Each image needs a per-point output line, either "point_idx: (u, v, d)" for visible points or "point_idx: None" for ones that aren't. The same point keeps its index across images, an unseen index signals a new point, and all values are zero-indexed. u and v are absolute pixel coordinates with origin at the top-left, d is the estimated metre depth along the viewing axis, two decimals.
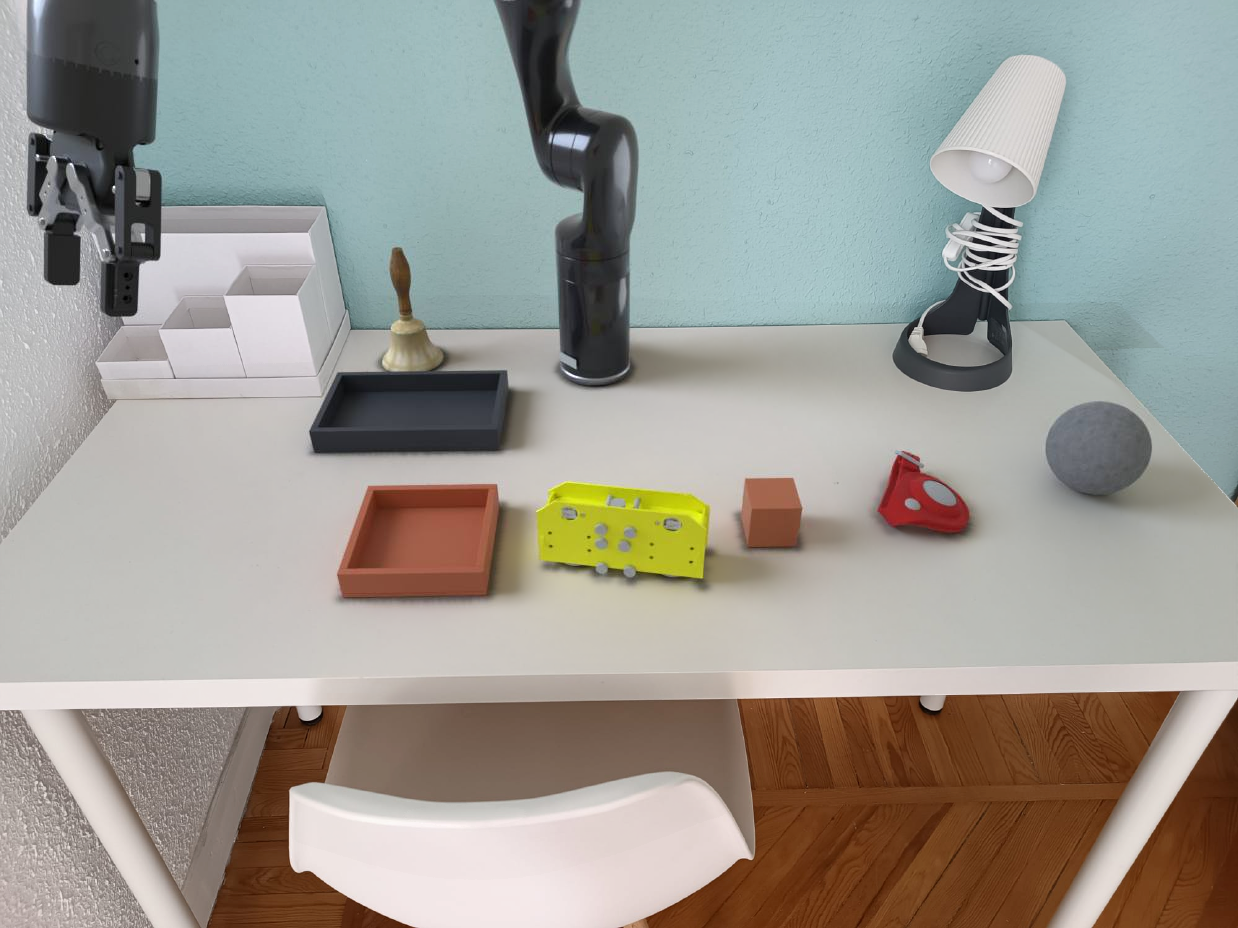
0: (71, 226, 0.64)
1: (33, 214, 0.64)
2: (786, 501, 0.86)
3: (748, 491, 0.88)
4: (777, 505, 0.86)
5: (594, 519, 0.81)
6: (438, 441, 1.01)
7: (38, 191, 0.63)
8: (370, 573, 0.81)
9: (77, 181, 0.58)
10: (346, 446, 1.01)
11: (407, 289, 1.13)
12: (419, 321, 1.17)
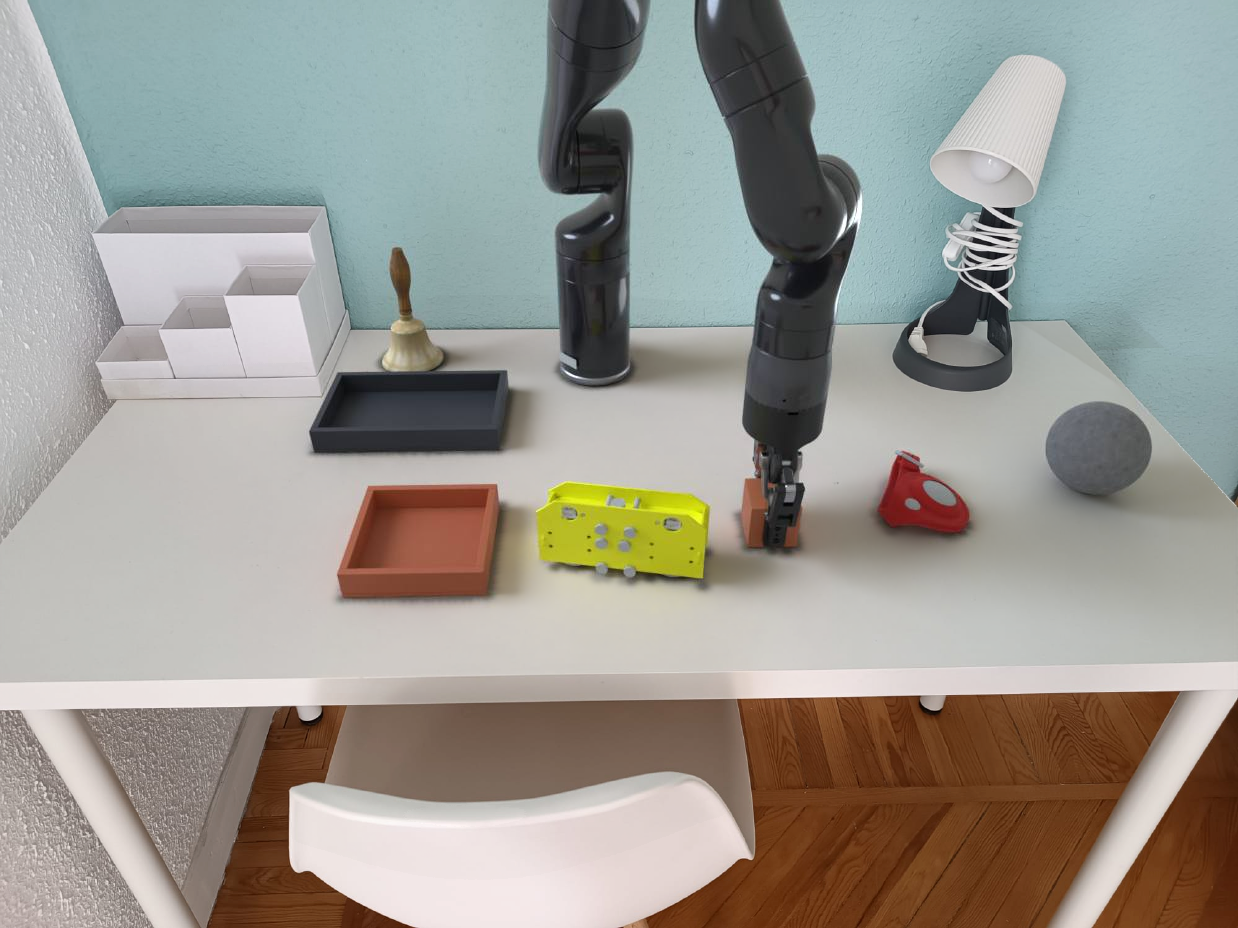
0: None
1: None
2: None
3: (748, 491, 0.88)
4: None
5: (594, 519, 0.81)
6: (438, 441, 1.01)
7: None
8: (370, 573, 0.81)
9: None
10: (346, 446, 1.01)
11: (407, 289, 1.13)
12: (419, 321, 1.17)
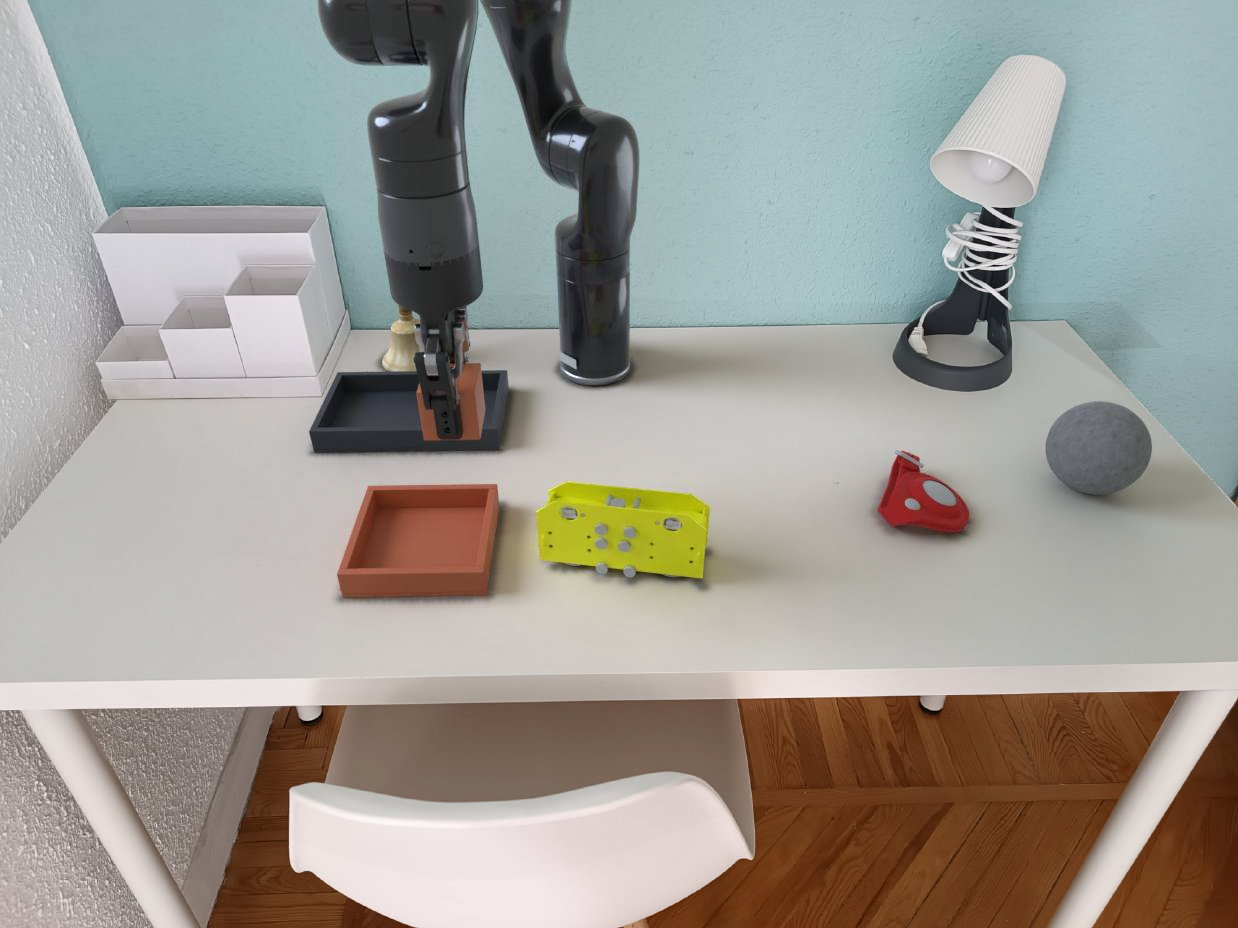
0: None
1: None
2: (459, 385, 0.76)
3: None
4: None
5: (594, 519, 0.81)
6: (438, 441, 1.01)
7: None
8: (370, 573, 0.81)
9: None
10: (346, 446, 1.01)
11: None
12: (419, 321, 1.17)
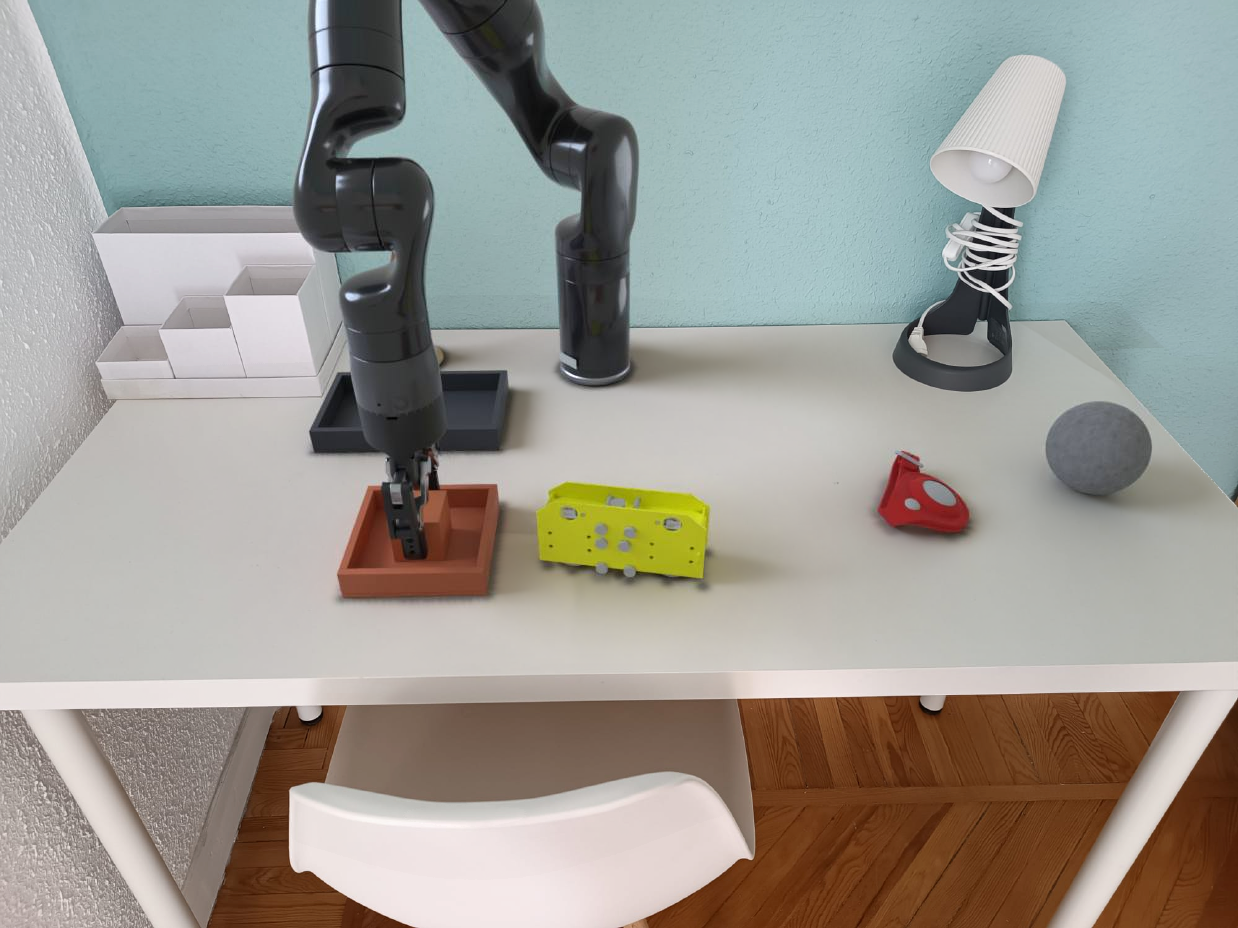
0: None
1: None
2: (425, 515, 0.84)
3: None
4: None
5: (594, 519, 0.81)
6: None
7: None
8: (370, 573, 0.81)
9: (435, 444, 0.83)
10: (346, 446, 1.01)
11: None
12: None
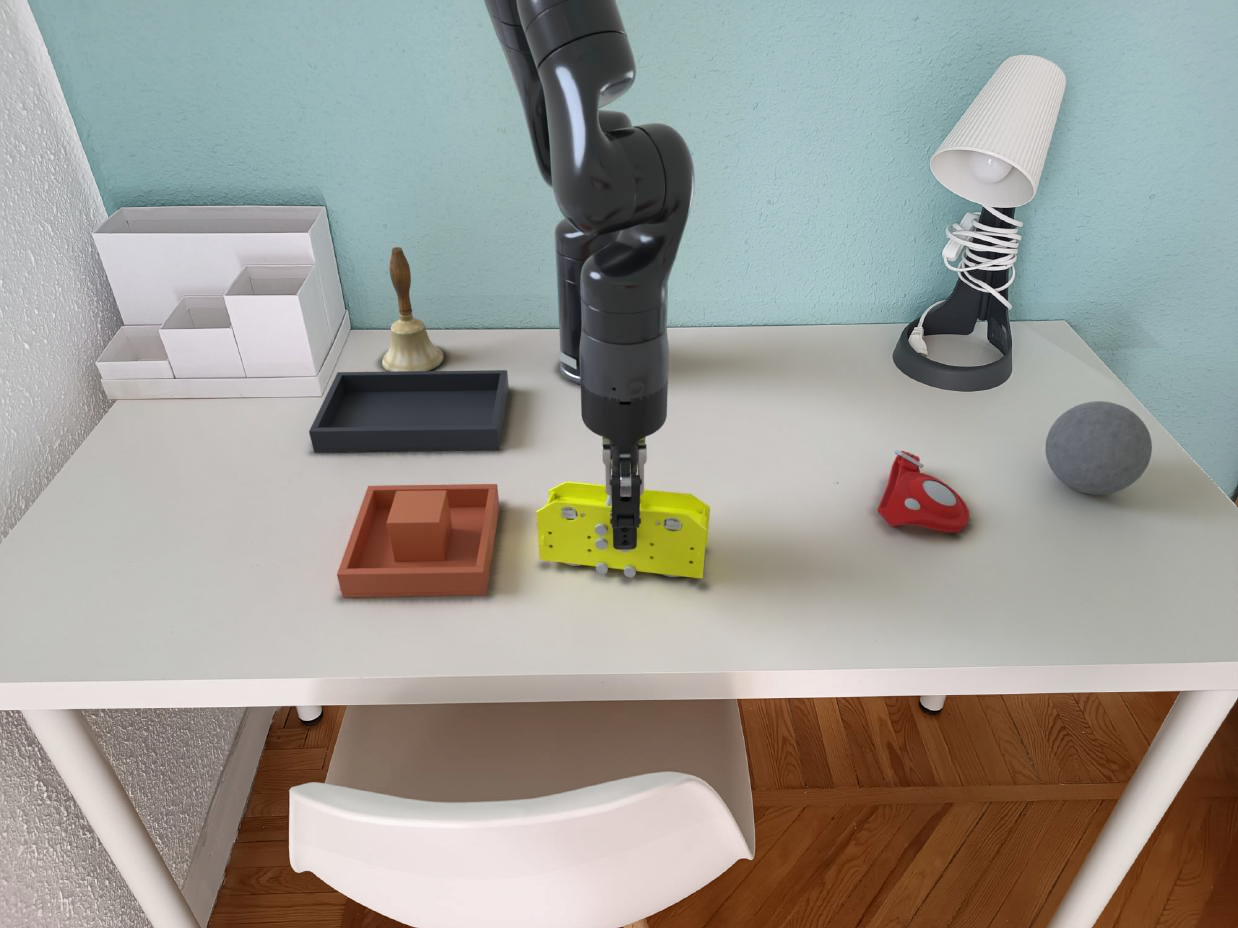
0: None
1: None
2: (425, 515, 0.84)
3: (393, 504, 0.85)
4: (414, 519, 0.83)
5: (595, 519, 0.81)
6: (438, 441, 1.01)
7: None
8: (370, 573, 0.81)
9: None
10: (346, 446, 1.01)
11: (407, 289, 1.13)
12: (419, 321, 1.17)
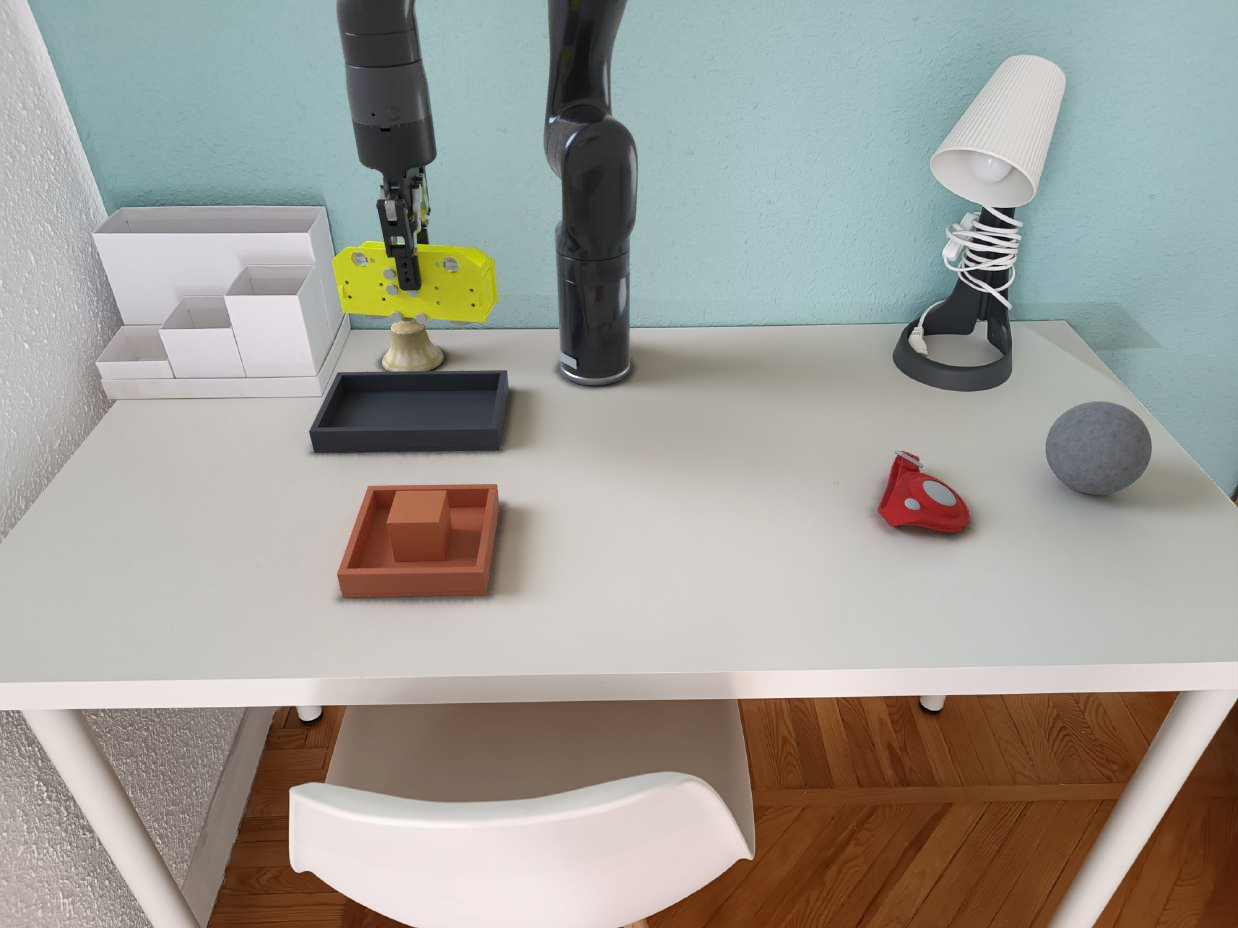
0: None
1: None
2: (425, 515, 0.84)
3: (393, 504, 0.85)
4: (414, 519, 0.83)
5: (383, 264, 0.90)
6: (438, 441, 1.01)
7: None
8: (370, 573, 0.81)
9: (425, 183, 0.89)
10: (346, 446, 1.01)
11: None
12: None
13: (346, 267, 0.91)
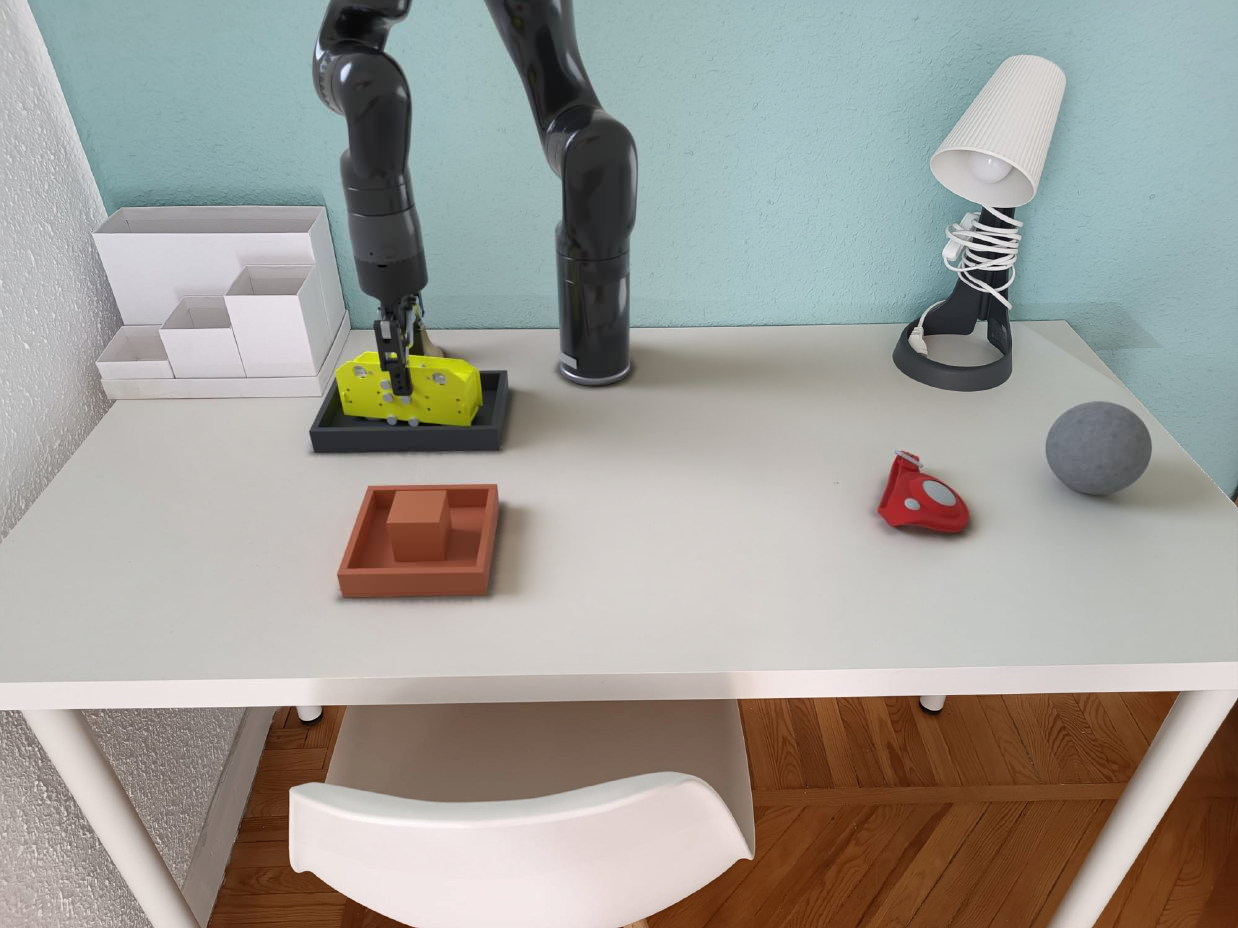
0: None
1: None
2: (425, 515, 0.84)
3: (393, 504, 0.85)
4: (414, 519, 0.83)
5: (380, 376, 1.02)
6: (438, 441, 1.01)
7: None
8: (370, 573, 0.81)
9: (419, 301, 1.01)
10: (346, 446, 1.01)
11: None
12: None
13: (347, 377, 1.03)
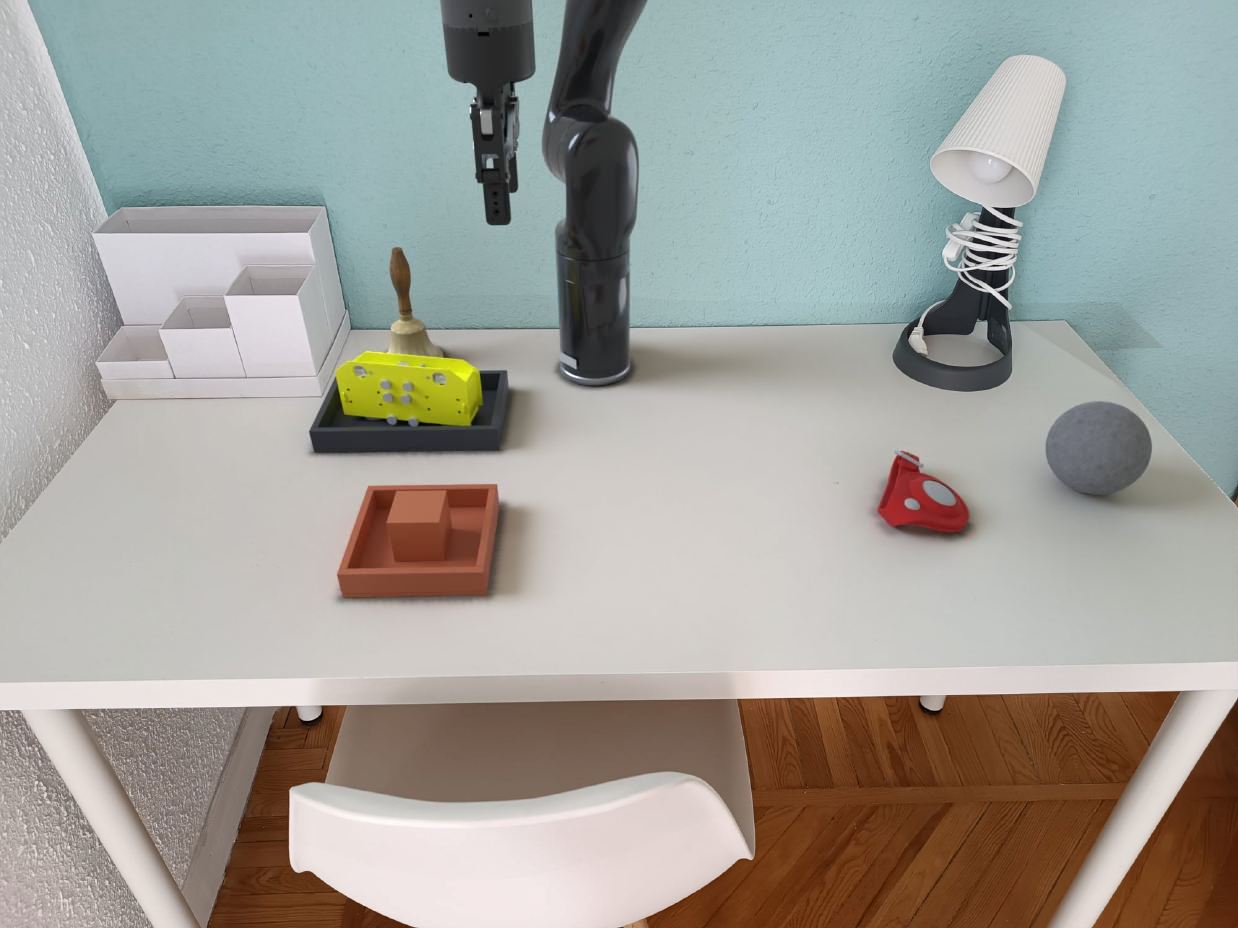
0: None
1: (506, 178, 0.74)
2: (425, 515, 0.84)
3: (393, 504, 0.85)
4: (414, 519, 0.83)
5: (380, 376, 1.02)
6: (438, 441, 1.01)
7: None
8: (370, 573, 0.81)
9: None
10: (346, 446, 1.01)
11: (407, 289, 1.13)
12: (419, 321, 1.17)
13: (348, 377, 1.03)
